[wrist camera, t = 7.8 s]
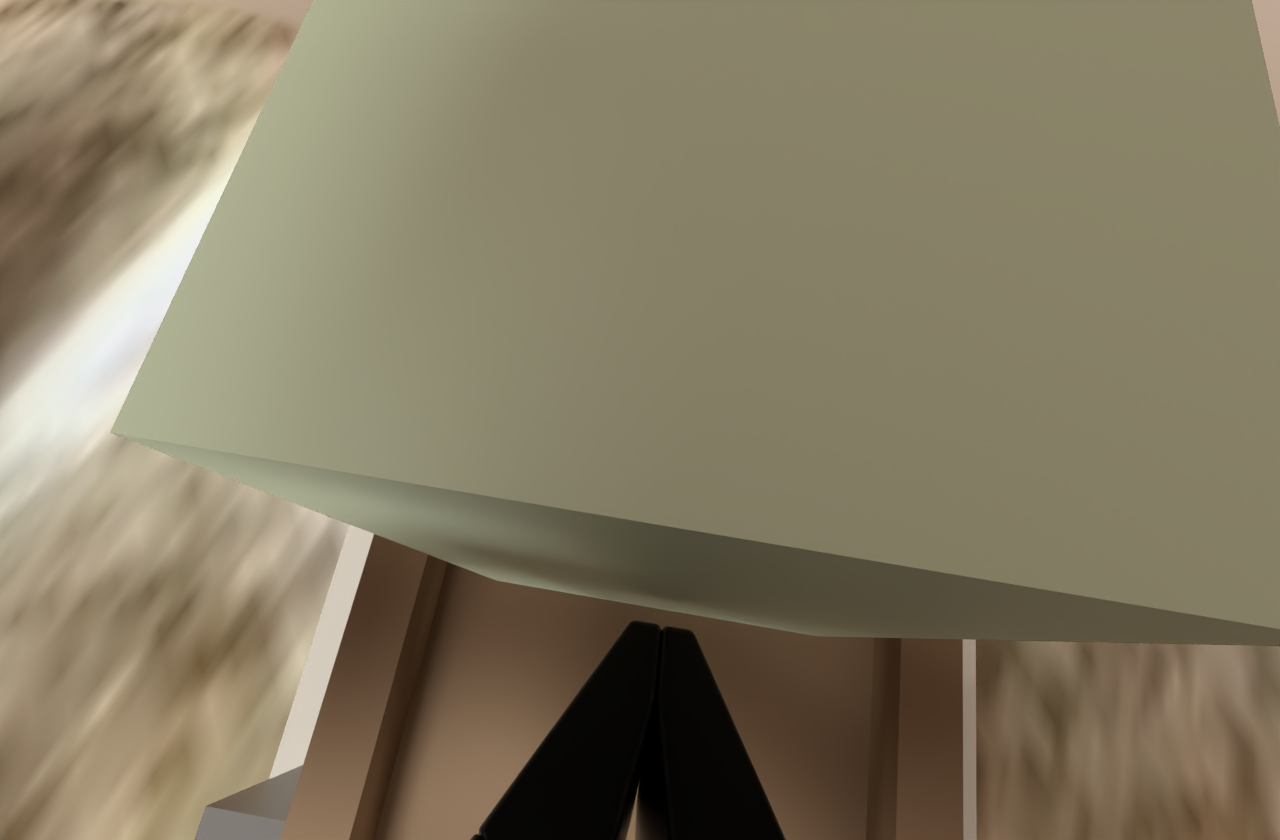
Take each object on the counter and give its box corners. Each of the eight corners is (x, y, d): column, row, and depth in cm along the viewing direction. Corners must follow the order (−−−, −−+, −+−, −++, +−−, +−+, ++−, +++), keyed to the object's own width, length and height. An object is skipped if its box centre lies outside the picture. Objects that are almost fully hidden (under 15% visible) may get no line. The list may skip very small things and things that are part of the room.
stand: (956, 1609, 11) (1189, 2322, 6) (92, 1402, 12) (-260, 1909, 7) (960, 253, 20) (1060, 141, 15) (469, 181, 20) (422, 52, 16)
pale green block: (817, 635, 11) (1393, 647, 3) (496, 580, 12) (108, 432, 3) (837, 343, 13) (1212, -185, 5) (562, 300, 13) (441, -272, 5)
